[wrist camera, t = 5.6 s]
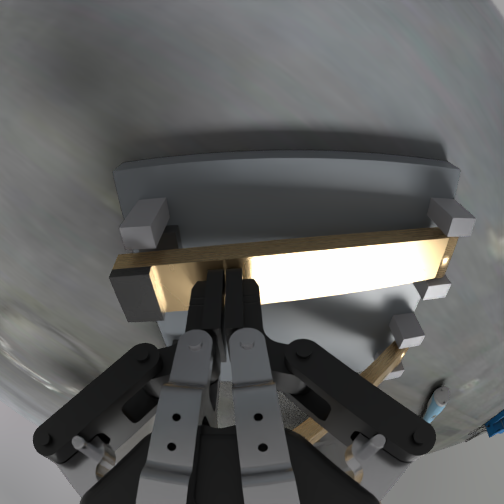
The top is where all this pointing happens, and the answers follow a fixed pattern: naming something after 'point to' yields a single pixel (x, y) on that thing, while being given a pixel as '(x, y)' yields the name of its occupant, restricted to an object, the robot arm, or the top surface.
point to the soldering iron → (492, 426)
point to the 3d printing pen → (437, 403)
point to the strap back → (371, 374)
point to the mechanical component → (333, 450)
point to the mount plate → (298, 230)
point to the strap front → (282, 268)
